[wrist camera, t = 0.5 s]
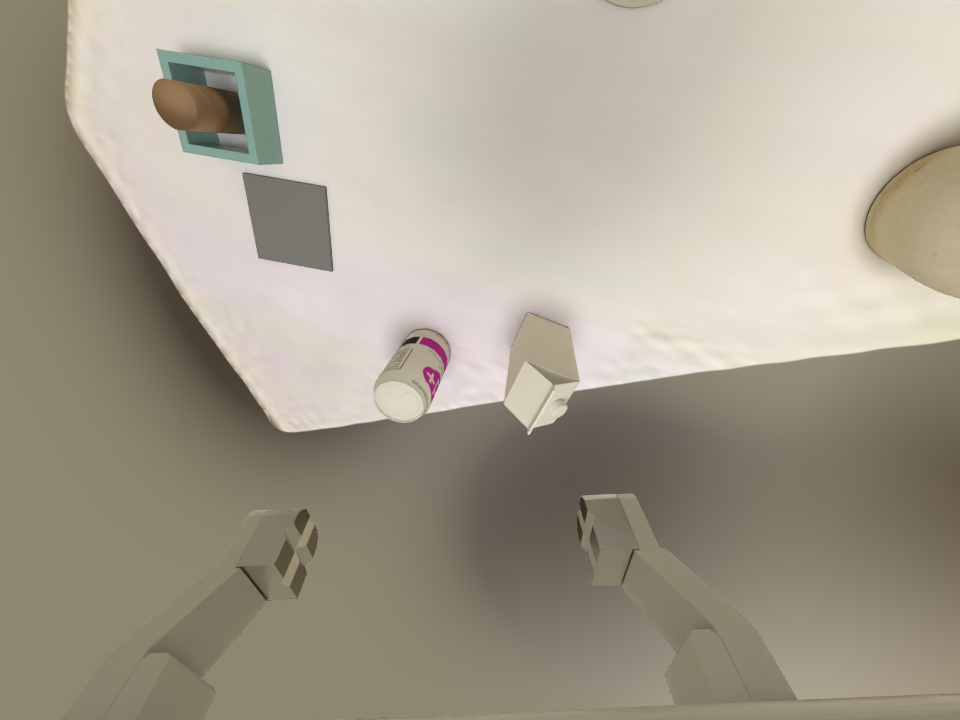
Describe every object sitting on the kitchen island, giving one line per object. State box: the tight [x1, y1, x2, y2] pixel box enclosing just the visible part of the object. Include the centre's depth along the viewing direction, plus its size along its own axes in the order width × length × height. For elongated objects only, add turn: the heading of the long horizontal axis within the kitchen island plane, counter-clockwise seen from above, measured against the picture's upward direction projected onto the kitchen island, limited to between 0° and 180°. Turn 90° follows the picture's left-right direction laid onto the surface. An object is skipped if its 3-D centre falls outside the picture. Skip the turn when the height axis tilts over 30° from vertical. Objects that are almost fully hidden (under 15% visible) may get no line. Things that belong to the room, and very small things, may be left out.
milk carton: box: [504, 313, 579, 435], centre depth 48 cm, size 7×7×19 cm
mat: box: [242, 173, 333, 272], centre depth 52 cm, size 12×12×1 cm
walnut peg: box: [152, 78, 246, 134], centre depth 42 cm, size 4×4×10 cm
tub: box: [157, 49, 283, 165], centre depth 44 cm, size 10×10×5 cm
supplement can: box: [374, 330, 450, 422], centre depth 54 cm, size 8×8×15 cm
